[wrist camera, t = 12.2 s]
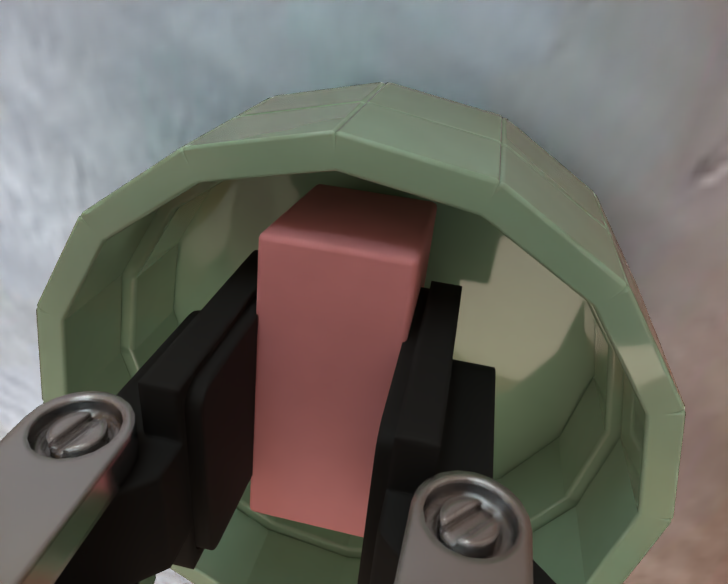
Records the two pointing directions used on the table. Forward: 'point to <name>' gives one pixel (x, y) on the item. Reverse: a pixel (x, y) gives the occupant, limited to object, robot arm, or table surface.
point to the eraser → (331, 347)
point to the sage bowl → (446, 264)
